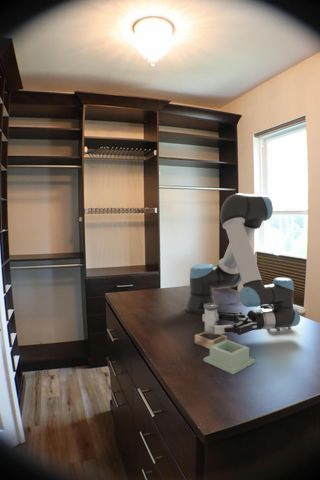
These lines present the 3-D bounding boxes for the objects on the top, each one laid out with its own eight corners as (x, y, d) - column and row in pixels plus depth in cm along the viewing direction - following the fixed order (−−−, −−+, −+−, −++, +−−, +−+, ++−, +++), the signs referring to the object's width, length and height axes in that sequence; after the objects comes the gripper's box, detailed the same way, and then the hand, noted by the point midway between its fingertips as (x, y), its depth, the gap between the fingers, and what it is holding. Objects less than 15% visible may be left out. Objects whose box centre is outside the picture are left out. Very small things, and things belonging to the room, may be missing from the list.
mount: (194, 342, 122) (194, 335, 122) (209, 337, 127) (209, 329, 127) (212, 350, 115) (212, 342, 115) (226, 343, 121) (226, 335, 121)
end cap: (281, 323, 142) (282, 308, 141) (265, 323, 142) (266, 308, 142) (274, 316, 152) (275, 302, 151) (259, 316, 152) (260, 302, 152)
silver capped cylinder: (201, 343, 122) (201, 304, 120) (210, 339, 125) (210, 302, 124) (211, 347, 118) (211, 307, 116) (220, 343, 121) (220, 304, 120)
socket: (203, 361, 107) (203, 346, 106) (226, 350, 115) (226, 337, 114) (233, 374, 98) (233, 358, 97) (255, 362, 106) (255, 347, 105)
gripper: (277, 341, 112) (221, 346, 108) (245, 318, 137) (198, 322, 133) (278, 320, 112) (221, 325, 108) (245, 301, 136) (198, 304, 132)
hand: (208, 323), depth 120 cm, fingers open, 13 cm apart
